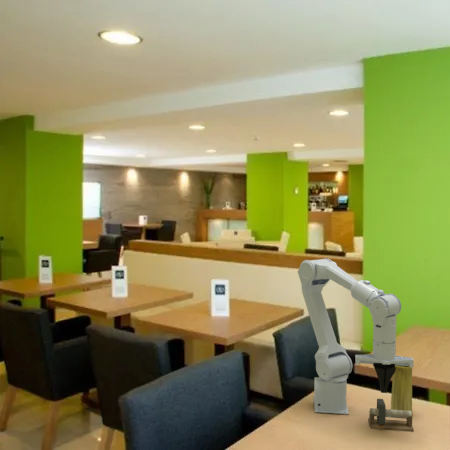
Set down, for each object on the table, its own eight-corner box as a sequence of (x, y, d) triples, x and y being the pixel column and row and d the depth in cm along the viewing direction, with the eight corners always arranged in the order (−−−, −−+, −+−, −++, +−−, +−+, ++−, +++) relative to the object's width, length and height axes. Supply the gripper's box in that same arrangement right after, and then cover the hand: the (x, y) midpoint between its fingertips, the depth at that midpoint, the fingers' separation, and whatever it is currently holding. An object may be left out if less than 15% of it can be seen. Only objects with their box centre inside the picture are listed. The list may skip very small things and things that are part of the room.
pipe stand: (370, 428, 132) (370, 411, 132) (368, 420, 137) (368, 404, 137) (413, 431, 131) (414, 414, 131) (409, 423, 136) (409, 407, 136)
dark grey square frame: (379, 424, 132) (379, 404, 132) (376, 417, 137) (376, 398, 137) (385, 424, 132) (385, 405, 132) (382, 417, 137) (382, 398, 136)
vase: (409, 409, 145) (410, 361, 144) (415, 418, 139) (416, 368, 138) (388, 408, 146) (389, 360, 145) (393, 417, 140) (394, 367, 139)
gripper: (357, 343, 128) (356, 395, 128) (416, 346, 125) (415, 399, 126) (354, 336, 135) (353, 385, 135) (410, 338, 132) (409, 388, 133)
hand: (383, 391), depth 131 cm, fingers closed
